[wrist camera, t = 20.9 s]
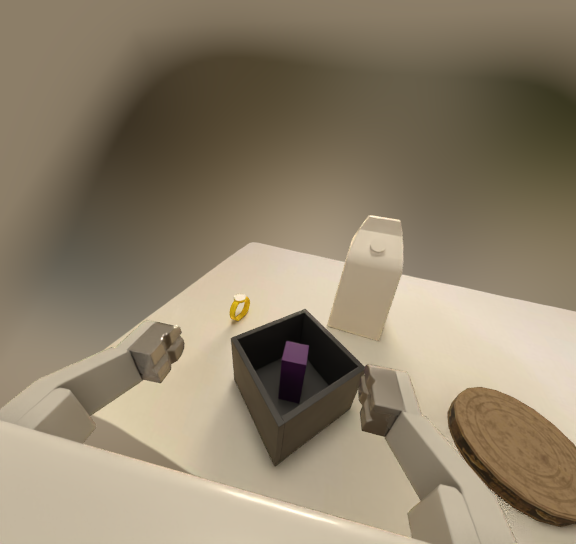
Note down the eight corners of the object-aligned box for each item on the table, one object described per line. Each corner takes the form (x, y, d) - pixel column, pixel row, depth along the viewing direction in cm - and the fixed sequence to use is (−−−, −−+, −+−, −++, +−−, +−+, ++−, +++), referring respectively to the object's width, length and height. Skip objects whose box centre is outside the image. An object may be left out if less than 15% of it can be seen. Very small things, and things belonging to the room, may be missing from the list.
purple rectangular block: (299, 403, 37) (306, 365, 31) (278, 398, 37) (281, 359, 32) (302, 383, 40) (309, 345, 34) (282, 379, 40) (286, 340, 35)
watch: (237, 326, 51) (235, 306, 48) (227, 322, 52) (225, 302, 49) (252, 311, 56) (252, 292, 53) (243, 307, 57) (242, 289, 54)
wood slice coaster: (429, 430, 35) (436, 420, 34) (469, 381, 43) (477, 371, 42) (573, 568, 24) (595, 564, 23) (592, 468, 32) (609, 459, 31)
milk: (378, 310, 60) (413, 215, 46) (378, 341, 50) (423, 233, 37) (334, 299, 63) (355, 206, 49) (326, 326, 53) (350, 221, 40)
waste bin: (274, 466, 30) (278, 427, 24) (234, 379, 40) (230, 337, 35) (350, 408, 37) (366, 368, 32) (299, 347, 47) (305, 308, 42)
